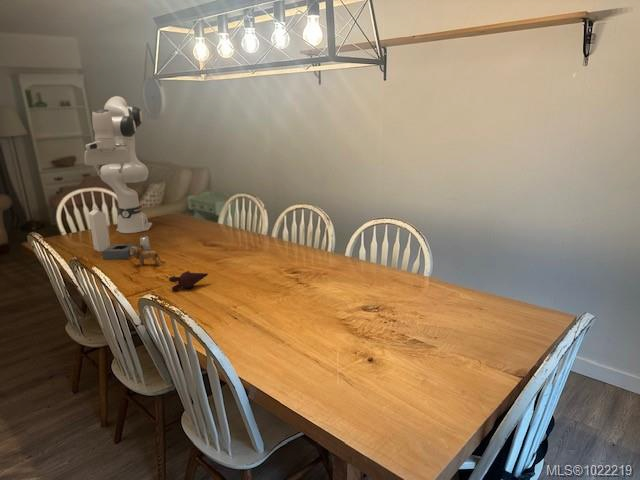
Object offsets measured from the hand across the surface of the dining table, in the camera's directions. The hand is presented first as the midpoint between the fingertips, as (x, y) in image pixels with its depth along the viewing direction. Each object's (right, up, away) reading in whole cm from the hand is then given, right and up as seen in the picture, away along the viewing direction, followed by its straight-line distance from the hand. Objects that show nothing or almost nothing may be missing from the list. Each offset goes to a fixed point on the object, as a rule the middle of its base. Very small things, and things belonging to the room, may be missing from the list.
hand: (110, 173), depth 221 cm
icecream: (+51, -51, -41) cm, 83 cm away
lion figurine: (+23, -44, -15) cm, 52 cm away
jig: (+5, -40, 0) cm, 40 cm away
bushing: (+16, -39, +3) cm, 42 cm away
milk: (-8, -37, +10) cm, 40 cm away
